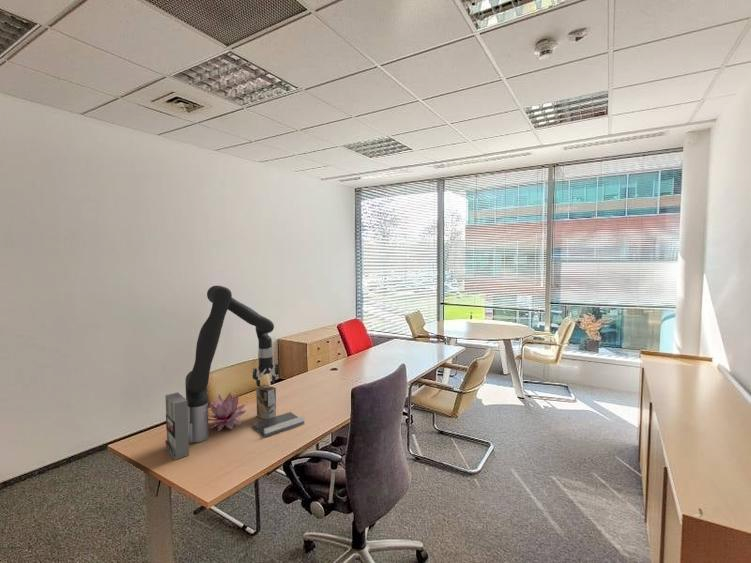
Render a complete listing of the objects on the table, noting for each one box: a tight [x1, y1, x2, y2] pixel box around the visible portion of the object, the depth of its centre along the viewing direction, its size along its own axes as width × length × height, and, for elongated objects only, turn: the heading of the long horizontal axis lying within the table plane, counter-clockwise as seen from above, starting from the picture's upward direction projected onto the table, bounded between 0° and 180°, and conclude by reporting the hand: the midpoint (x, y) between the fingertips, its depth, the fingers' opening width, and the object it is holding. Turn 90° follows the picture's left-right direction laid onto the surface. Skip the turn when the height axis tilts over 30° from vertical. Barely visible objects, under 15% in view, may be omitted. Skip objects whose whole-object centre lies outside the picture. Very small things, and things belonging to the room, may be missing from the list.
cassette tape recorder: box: [164, 392, 190, 461], centre depth 164 cm, size 14×6×25 cm, turn 44°
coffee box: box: [255, 384, 277, 420], centre depth 202 cm, size 9×6×16 cm
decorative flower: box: [208, 392, 247, 432], centre depth 190 cm, size 21×21×15 cm
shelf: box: [252, 411, 305, 438], centre depth 192 cm, size 22×15×4 cm
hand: (266, 384), depth 202 cm, fingers open, 8 cm apart
